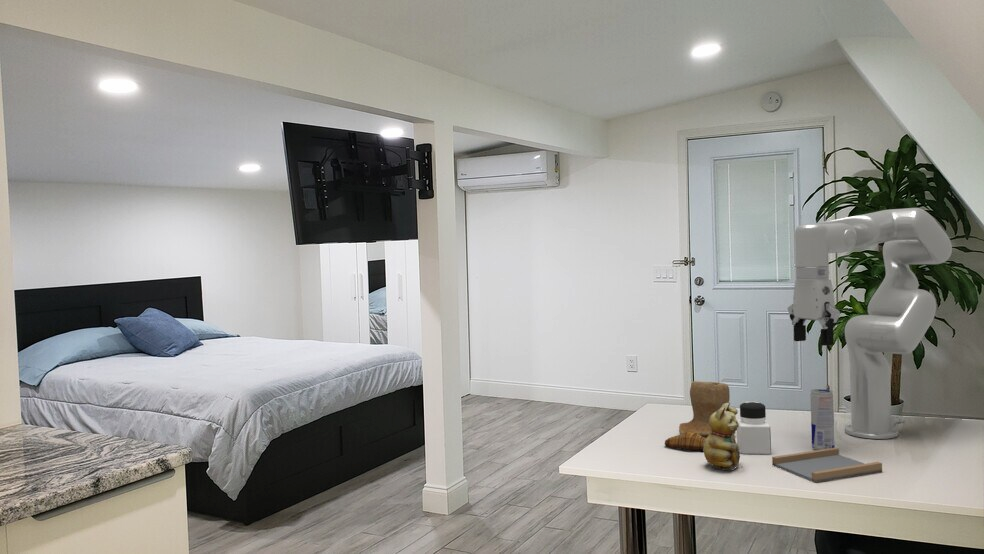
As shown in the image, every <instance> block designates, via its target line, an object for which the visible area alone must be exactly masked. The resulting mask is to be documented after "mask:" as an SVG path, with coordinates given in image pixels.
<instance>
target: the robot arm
mask: <svg viewBox="0 0 984 554" xmlns="http://www.w3.org/2000/svg"><path fill="white" fill-rule="evenodd" d="M883 243H884V244H883ZM878 244H883V246H882V256H883V262H884V263H883V264H884V269H885V276H884V278H883V280H882V282H881V283H880V284H879V286H878V288H877V289H876V291H875V292H874V294H873V295H872V297H871V298H870V301H869V302H868V305H867V313H868V314H860V315H855V316H853V317H851V318H850V319H849V320H847V322H846V324H845V326H844V339H845V342H846V345H847V351H848V358H849V359H848V360H849V383H850V385H849V388H850V421H851V422H850V424H848V425H846V426H844V431H845V433H846V434H848V435H849V436H853V437H857V438H863V439H874V440H886V439H887V440H888V439H893V438H896V437H899V430H898V429H897V428H895V426H896V425H903V424H905V422H906V418H905V417H904V416H902V415H901V416H894V415H892V396H891V392H892V391H891V390H892V389H891V388H892V387H891V368H890V364H889V362H888V360H887V358H886V356H885V355H884V353H885V354H893V355H894V354H895V355H908V354H910V353H912V352H913V351H915V349H916V348H917V347H918V345H919V344H920V343H921V341H922V340H923V338H924V336H925V334H926V333H927V330H928V329H929V328H930V326H931V324H932V323H933V322H934V321H933V320H934V319H935V316H936V311H937V309H936V308H937V302H936V299H935V297H934V296H933V294H932V293H931V292H929V291H928V290H925V289H920V288H919V281H918V277H917V276H916V274H915V273H914V272H913V271H912V270H911V268H910V265H939V264H944V263H945V262H947V261H948V260H949V259H950V257H951V255H952V253H953V245H952V242H951V239H950V237H949V236H948V234H947V233H946V232H945V230H944V229H943V228H942V227H941V225H940V224H939V223H938V222H937V221H936V219H935V218H934V217H933V216H932V215H931V214H930V213H929V212H927V211H926V210H924V209H922V208H921V207H909V208H907V207H905V208H895V209H893V208H892V209H884V210H878V211H873V212H870V213H864V214H858V215H853V216H848V217H843V218H842V217H841V218H838V219H831V220H825V221H819V222H813V223H809V224H799V225H797V226H796V228H795V230H794V247H795V248H794V254H795V255H794V256H795V259H794V260H795V261H794V263H795V281H794V287H793V295H792V297H793V302H792V303H793V304H790V305H789V306H788V307H787V312H788V315H789V319H790V321H791V325H792V326H793V341H794V342H804V341H806V340H807V326H806V324H805V323H806V321H807V320H809V321H818V322H819V324H820V326H821V328H820V345H821V346H825V347H826V346H833V345H834V342H835V341H834V337H835V336H834V329H835V328H836V325H837V324H838V321H839V318H840V315H841V311H840V310H839V309H837V307H836V303H835V302H836V301H835V293H834V287H833V284H832V280H831V279H830V271H829V270H830V269H829V267H830V266H829V254H842V253H846V252H849V251H851V250H852V249H854V248H866V247H871V246H874V245H878Z"/></svg>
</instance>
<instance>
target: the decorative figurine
mask: <svg viewBox="0 0 984 554" xmlns="http://www.w3.org/2000/svg"><path fill="white" fill-rule="evenodd" d="M730 405H731V403H730V402H729V403H725V404H723V405H722V407H721V408H720V409H719V410H717V412H714V413H713V414H712V415H711V417H710V419H709V425H710V427H711V429H712V430H711V431H710V435H709V436H708V437H705V438H706V440H705V443H704V448H703V451H702V452H703V455H704V458H705V460H706V462H707V463H709V464H710V465H711V468H712V469H718V470H722V469H723V470H724V471H729V470H732V471H733V469H734V470H735V469H736V468H737V467H738V466H739V465H738V464H739V463H740V458H741V452H740V450H739V445H738V444H737V440H736V438H735V437H734V435H733V433H734V432H735V433H736V432H737V428H738V426H739V424H738V422H737V418H736V415H737V414H738V411H739V410H738V409H737V408H736V407H734V406H730ZM737 465H738V466H737ZM736 466H737V467H736ZM735 467H736V468H735ZM723 470H722V471H723Z"/></svg>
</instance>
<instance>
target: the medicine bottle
mask: <svg viewBox="0 0 984 554" xmlns="http://www.w3.org/2000/svg"><path fill="white" fill-rule="evenodd" d="M766 415H767V413H766V405H765V404H763V403H761V402H758V401H745V402H743V403H741V404H739V418H738V419H737V418H736V420H737V422H738V424H739V426H738V428H737V430H736V443H737V444H738V445H739V451H740V455H771V454H772V441H771V440H772V438H771V437H772V435H771V425H770V424H769V423H768V421H767V419H766V418H767V417H766Z"/></svg>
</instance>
